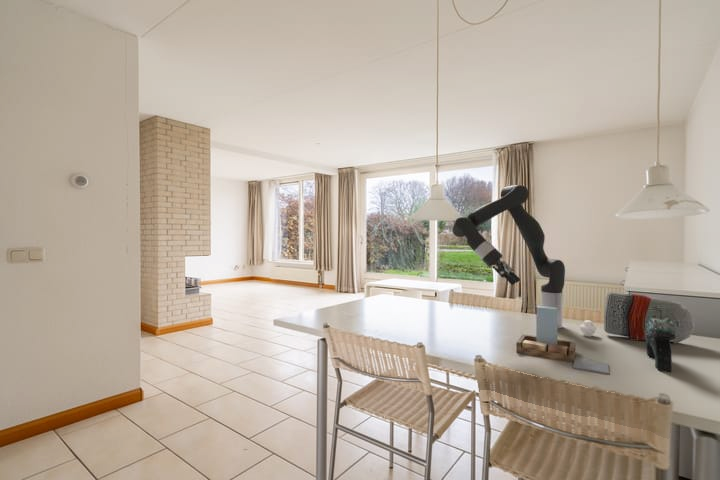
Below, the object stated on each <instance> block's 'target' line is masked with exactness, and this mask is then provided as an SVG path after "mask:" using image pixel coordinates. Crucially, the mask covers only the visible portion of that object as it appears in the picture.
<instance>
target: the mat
mask: <svg viewBox="0 0 720 480" xmlns="http://www.w3.org/2000/svg"><path fill="white" fill-rule="evenodd" d="M572 368H573V369H577V370H580V371H581V370H582V371H587V372H593V373H597V374H598V373H599V374H604V375H609V373H610V371H609V370H610V369H609V363H608V362H603V361H602V362H601V361H596V360H591V359H584V358H577V357H574V362H573V365H572Z"/></svg>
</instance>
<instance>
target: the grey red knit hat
mask: <svg viewBox="0 0 720 480" xmlns="http://www.w3.org/2000/svg"><path fill="white" fill-rule="evenodd" d="M660 308H662V314H660V311H659V309H660ZM654 315H658V316H659V319H660V315H662V319H661V320H665V319H666V318H670V321H671V322H672V323H673V325H674V329H675V339H672V340H670V342H674V343H673V344H679V343H681V342H682V341H685V340H687V339H689V338H690V337H691V335H692V333H693V331H694V330H695V328H696V325H695V320H694V316H693V314H692V313H691V312H690V311H689V310H688V309H687V307H685V306H682V304H681V303H680V302H676V301H673V300H669V299H667V298H666V299H665V298H658V297H651V296H650V297H649V296H646V295H643V294H635V293H631V294H628V293H622V292H613V291H608V292H607V293H606V299H605V303H604V310H603V331H604V332H606V334H610V335H616V336H621V337H626V338H629V340H630V339H638V340H637V341H639V340H643V341H646V339H645V325H646V324H648V321H649V319H650V318H653V317H654ZM654 319H658V317H657V316H656V317H655V318H654Z"/></svg>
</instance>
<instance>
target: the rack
mask: <svg viewBox="0 0 720 480" xmlns="http://www.w3.org/2000/svg"><path fill="white" fill-rule="evenodd" d="M524 340H528V341H534V342H536V335H530V334H524V333H522V334H521V335H520V337H519V338H518V340H516V344H515V345H516V349H515V350H516V353H517V354H518V353H519V354H522V355H523V354H524V355H528V356H529V355H530V356H535V357H541V358H548V359H552V360H557V361H558V360H559V361H564V362H571V363H574V359H575V358H576V356H575V355H576V353H577V352H576V345H577V344H576V341H572V340H566V339H565V340H564V339H558V338H557V345H561V346H568V355H565V354H559V353H553V352H548V346H549V345H548V344H547V351H541V350H535V349H529V348H522V342H523V341H524Z"/></svg>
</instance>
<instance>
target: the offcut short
mask: <svg viewBox="0 0 720 480" xmlns="http://www.w3.org/2000/svg"><path fill="white" fill-rule="evenodd" d="M548 352H553V353H559V354H565V355H568V346H561V345H555V344H549V346H548Z"/></svg>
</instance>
